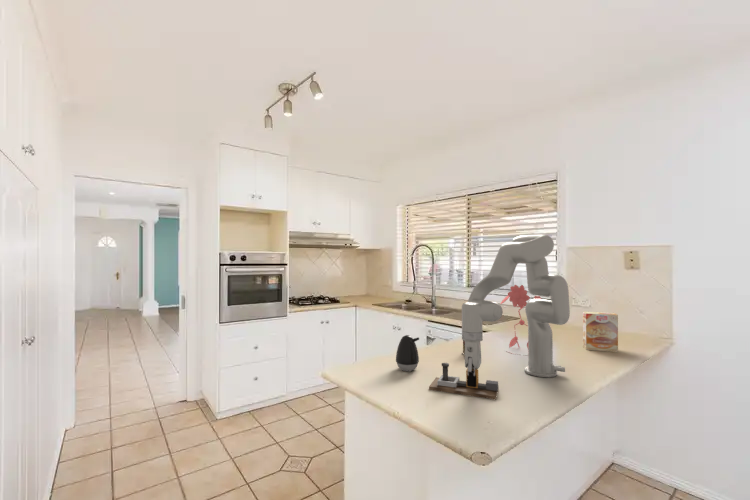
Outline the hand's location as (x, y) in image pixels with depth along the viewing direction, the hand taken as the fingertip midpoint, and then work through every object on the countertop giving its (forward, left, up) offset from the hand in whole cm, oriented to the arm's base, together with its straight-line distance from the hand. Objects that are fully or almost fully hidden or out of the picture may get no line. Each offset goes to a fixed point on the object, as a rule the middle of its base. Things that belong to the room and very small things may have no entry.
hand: (472, 384), depth 135 cm
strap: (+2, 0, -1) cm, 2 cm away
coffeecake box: (-54, -86, -3) cm, 101 cm away
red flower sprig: (-14, -66, -3) cm, 67 cm away
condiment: (+9, -52, -3) cm, 53 cm away
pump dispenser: (+30, -14, -3) cm, 33 cm away
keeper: (+3, 0, -2) cm, 4 cm away
